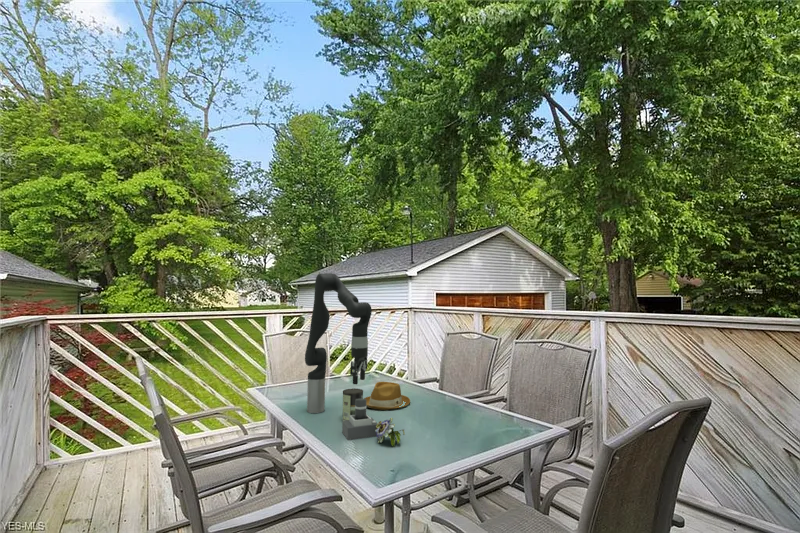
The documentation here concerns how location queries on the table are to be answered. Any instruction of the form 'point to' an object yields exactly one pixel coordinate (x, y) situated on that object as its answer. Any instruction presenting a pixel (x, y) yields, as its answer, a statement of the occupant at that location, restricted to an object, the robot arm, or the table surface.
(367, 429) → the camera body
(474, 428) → the table surface
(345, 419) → the coffee can
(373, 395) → the fedora
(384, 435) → the passion flower
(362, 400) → the lens
